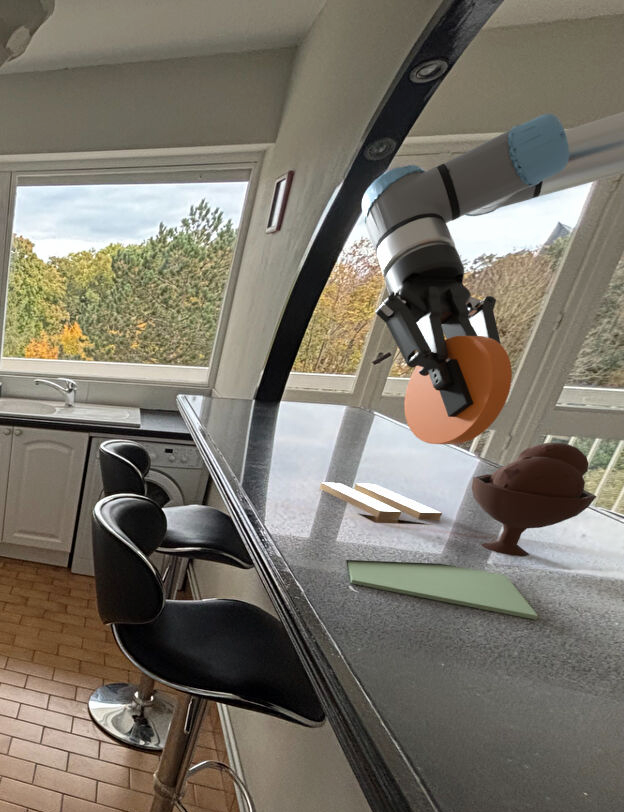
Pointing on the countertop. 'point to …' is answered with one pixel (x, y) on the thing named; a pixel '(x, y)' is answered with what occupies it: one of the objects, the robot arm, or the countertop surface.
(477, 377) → the orange disc
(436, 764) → the countertop surface
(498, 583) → the sage mat
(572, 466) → the ice cream bowl
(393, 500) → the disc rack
